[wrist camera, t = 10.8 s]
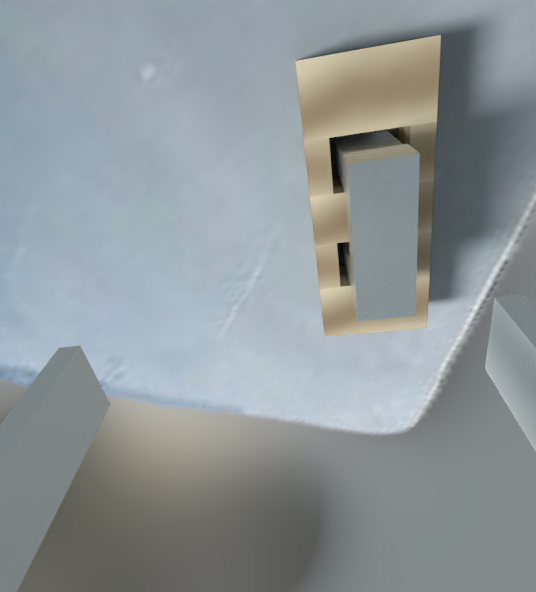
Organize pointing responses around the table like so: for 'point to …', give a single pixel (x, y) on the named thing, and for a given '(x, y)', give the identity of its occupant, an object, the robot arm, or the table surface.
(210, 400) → the table surface
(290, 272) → the table surface
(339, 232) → the wooden block with holes
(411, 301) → the grey u-shaped block
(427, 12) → the table surface
